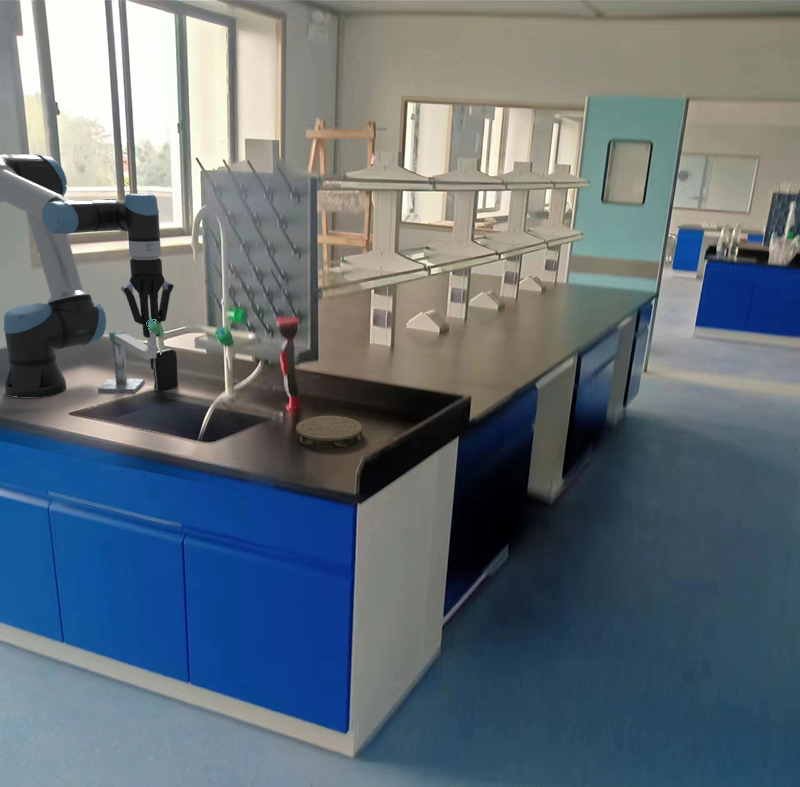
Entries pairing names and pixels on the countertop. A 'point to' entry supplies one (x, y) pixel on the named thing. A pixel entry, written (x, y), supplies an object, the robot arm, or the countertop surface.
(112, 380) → the post
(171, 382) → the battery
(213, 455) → the countertop surface
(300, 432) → the grey round disc
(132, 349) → the swing arm
